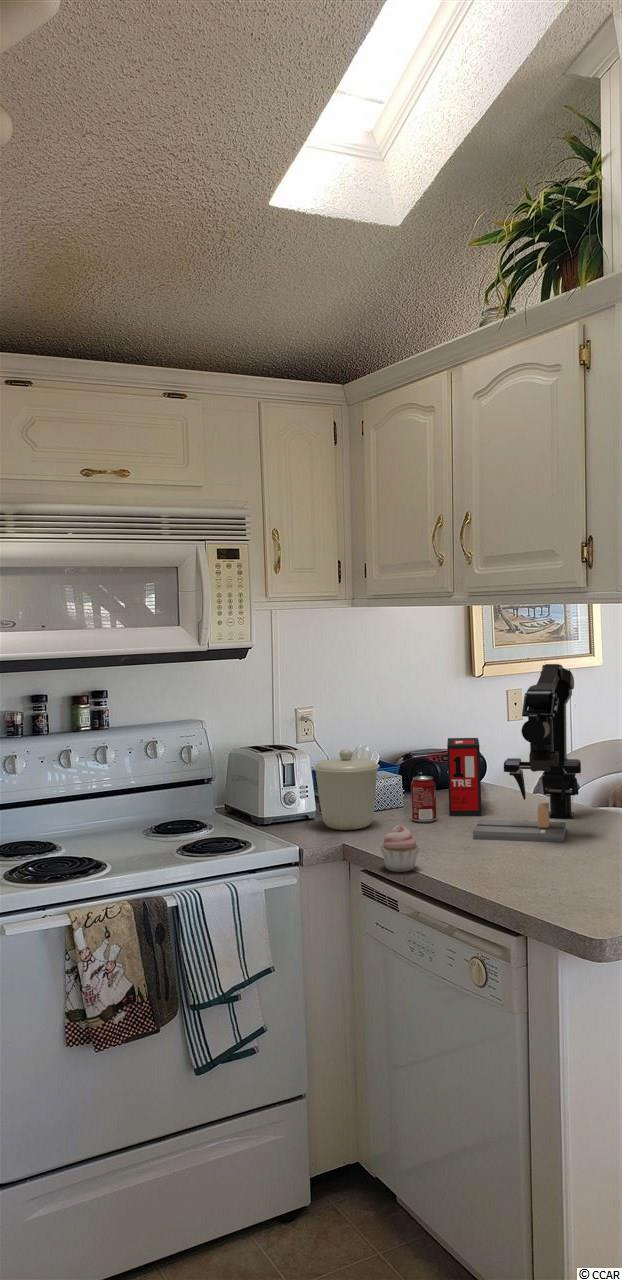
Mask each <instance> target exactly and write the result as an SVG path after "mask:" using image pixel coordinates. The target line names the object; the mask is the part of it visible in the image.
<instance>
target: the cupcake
mask: <svg viewBox="0 0 622 1280" xmlns="http://www.w3.org/2000/svg"><path fill="white" fill-rule="evenodd" d="M378 848H379V850H380V853H381V855H382V856H383V862H384V866H385V868H386V870H387V871H390V872H394V873H405V872H409V871H410V872H411V871H413V870H414V868H415V866H416V862H417V858H418V855H419V852H420V851H421V847H420V845H418V844H417V841H416V839H415V837H414V836H413V834H412V833H411V831H410V829H408V828H407V827H405V826H404V825H401V823H400V824H398V825H396V826H394V827H393V828H392V830H390V832H387V833H386V834H385V835H384V837H383V842H382V845H380V846H378Z"/></svg>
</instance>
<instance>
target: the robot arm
mask: <svg viewBox="0 0 622 1280" xmlns="http://www.w3.org/2000/svg"><path fill="white" fill-rule="evenodd" d="M574 689H575V677H574V675H573V673H572V671H570V670H569V669H567V668H565V667H564V666H563V665H562V664H560V663H545V664H543V665H542V666H541V671H540V676H539V678H538V681H537V683H536V684H534V685H531V686H529V687H528V689H526V692H524V695H523V704H522V712H521V716H522V717H525V718H526V717H527V719H528V720H527V721H525V722H523V725H522V727H521V735H522V737H523V738H524V740H525V741H526V742H528V743H529V745H530V746H529V755H528V756H529V759H528V760H529V761H522V758H520V757H519V758H514V757H513V758H512V757H511V758H509V757H508V758H506V760H504V762H503V772H504V773H509V774H508V775H509V776H513V778H514V779H515V781H516V783H517V785H518V787H519V790H520V793H521V796H522V799H523V800H526V798H527V797H526V786H525V778H524V772H523V770H530V771H531V772H534V773H535V772H542V777H541V779H542V780H541V781H542V791H543V792H542V793H543V795H549V818H554V819H557V818H558V819H559V818H562V819H573V818H574V811H572V796H579V785H578V784H579V783H578V779H577V778H576V774H581V772H582V762H581V760H580V759H579V758H578V759H577V758H575V759H574V758H568V757H567V756H568V755H567V752H568V751H567V747H568V746H567V704H568V702H569V701H570V699H571V697H572V696H573V695H572V694H573V690H574Z"/></svg>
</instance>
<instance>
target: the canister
mask: <svg viewBox="0 0 622 1280" xmlns="http://www.w3.org/2000/svg"><path fill="white" fill-rule="evenodd" d="M312 769H313V771H315V778H316V783H317V786H316V787H317V792H318V799H319V800H318V801H319V806H320V812H321V817H322V820H323V821H322V822H323V823H324V825H326V827H327V828H329V829H332V830H339V831H351V830H352V831H354V830H361V829H365V828H368V827H369V826H370V825H371V823H372V822H373V820H374V819H373V818H374V816H375V815H374V814H375V804H376V793H377V779H378V778H377V777H378V769H380V764H378V763H376V762H375V761H374V760H371V759H369V758H368V759H367V758H362V757H353V752H352V750H350V749H348V748H344V749H340V751H339V757H337V758H329V759H325V760H321V761H319V762H318V763H317V764H316V765H314V766H313V767H312Z"/></svg>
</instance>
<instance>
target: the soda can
mask: <svg viewBox="0 0 622 1280" xmlns="http://www.w3.org/2000/svg"><path fill="white" fill-rule="evenodd" d="M433 779H434V778H433V776H430V775H429V776H428V775H419V776H418V775H417V776H414V777H412V781H411V783H410V801H411V802H410V803H411V808H410V809H411V819H412V820H413V821H414V822H415V823H419V824H420V823H421V824H427V823H433V822H434V821H436V819H437V796H436V795H437V794H436V792H437V791H436V788H437V787H436V783H435V781H434V780H433Z"/></svg>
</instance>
